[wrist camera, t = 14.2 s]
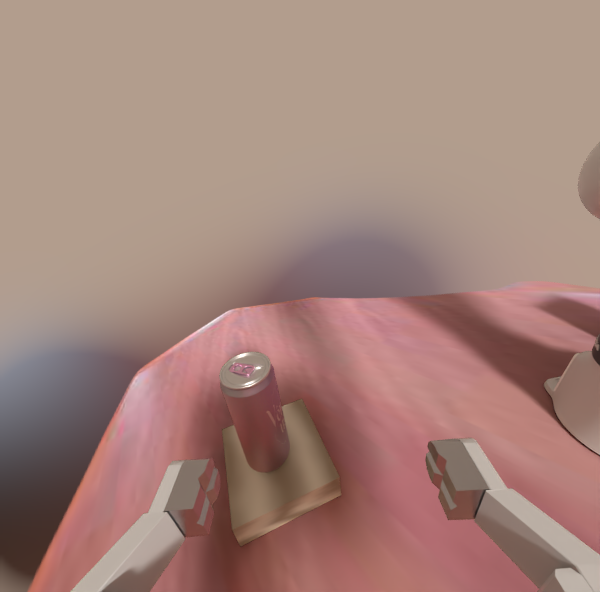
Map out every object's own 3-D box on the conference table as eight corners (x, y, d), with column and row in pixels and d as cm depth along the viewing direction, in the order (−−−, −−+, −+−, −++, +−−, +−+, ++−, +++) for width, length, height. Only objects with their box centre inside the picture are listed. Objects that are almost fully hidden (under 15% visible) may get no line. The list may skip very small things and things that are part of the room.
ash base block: (304, 415, 44) (302, 398, 42) (341, 495, 33) (339, 477, 31) (228, 445, 41) (221, 429, 39) (240, 546, 29) (232, 530, 28)
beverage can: (260, 427, 38) (237, 347, 32) (297, 438, 36) (281, 354, 29) (238, 467, 34) (205, 382, 27) (279, 482, 31) (255, 394, 25)
